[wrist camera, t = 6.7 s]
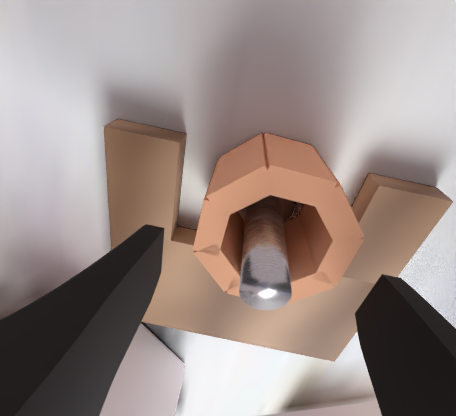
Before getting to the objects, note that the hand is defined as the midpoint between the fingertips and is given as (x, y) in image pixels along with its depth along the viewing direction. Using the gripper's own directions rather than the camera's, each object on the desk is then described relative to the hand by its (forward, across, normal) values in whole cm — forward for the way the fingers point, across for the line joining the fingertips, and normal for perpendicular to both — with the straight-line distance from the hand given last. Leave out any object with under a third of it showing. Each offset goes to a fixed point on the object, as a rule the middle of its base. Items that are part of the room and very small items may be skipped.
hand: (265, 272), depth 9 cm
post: (+5, 0, 0) cm, 5 cm away
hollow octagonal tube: (+4, 0, -1) cm, 4 cm away
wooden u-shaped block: (+5, 0, +4) cm, 6 cm away
